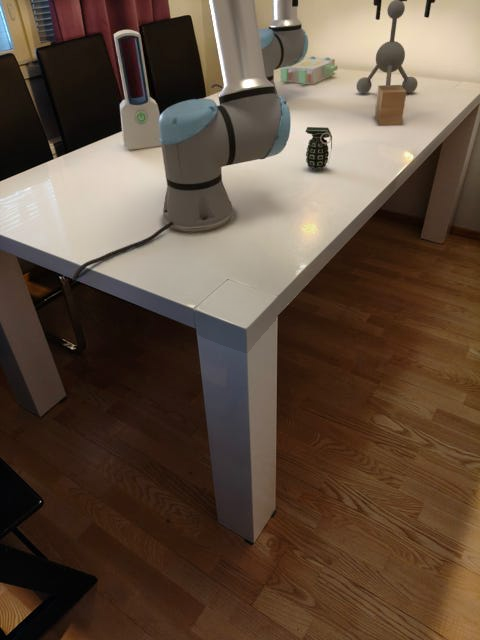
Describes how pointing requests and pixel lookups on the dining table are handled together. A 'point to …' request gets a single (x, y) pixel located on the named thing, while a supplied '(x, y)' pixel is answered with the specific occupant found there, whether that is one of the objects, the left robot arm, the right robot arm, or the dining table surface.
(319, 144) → the grenade
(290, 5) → the right robot arm
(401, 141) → the dining table surface
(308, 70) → the decorative block
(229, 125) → the left robot arm
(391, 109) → the block
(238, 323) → the dining table surface
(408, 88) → the molecular model
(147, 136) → the electronic device
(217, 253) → the dining table surface
